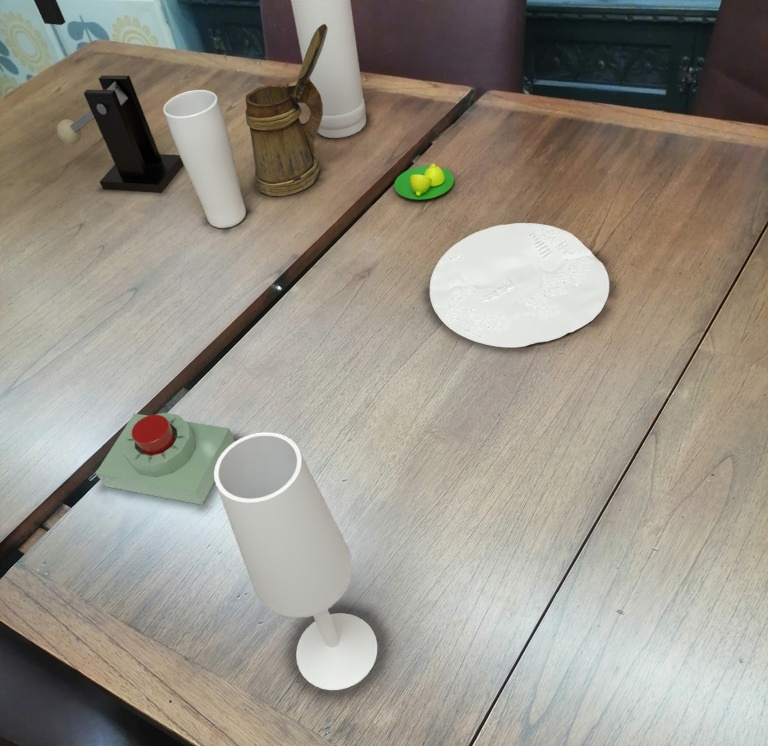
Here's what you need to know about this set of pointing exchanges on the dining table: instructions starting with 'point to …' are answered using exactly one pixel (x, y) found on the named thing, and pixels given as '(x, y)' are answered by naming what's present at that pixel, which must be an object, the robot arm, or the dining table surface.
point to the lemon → (424, 182)
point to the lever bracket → (129, 140)
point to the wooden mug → (286, 128)
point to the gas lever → (83, 120)
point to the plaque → (518, 285)
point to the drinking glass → (206, 154)
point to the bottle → (333, 64)
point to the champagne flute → (294, 554)
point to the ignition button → (153, 434)
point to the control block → (167, 461)
